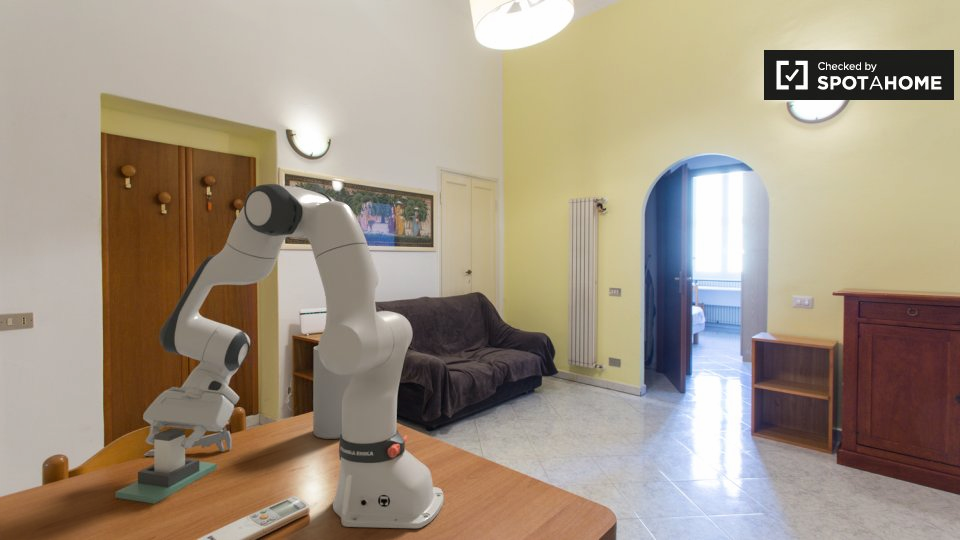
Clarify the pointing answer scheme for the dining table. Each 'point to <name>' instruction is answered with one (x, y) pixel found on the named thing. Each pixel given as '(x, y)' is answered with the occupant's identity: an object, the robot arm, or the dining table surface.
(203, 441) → the caliper
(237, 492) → the dining table surface
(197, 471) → the socket
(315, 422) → the cylinder vase
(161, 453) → the plug
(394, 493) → the robot arm
